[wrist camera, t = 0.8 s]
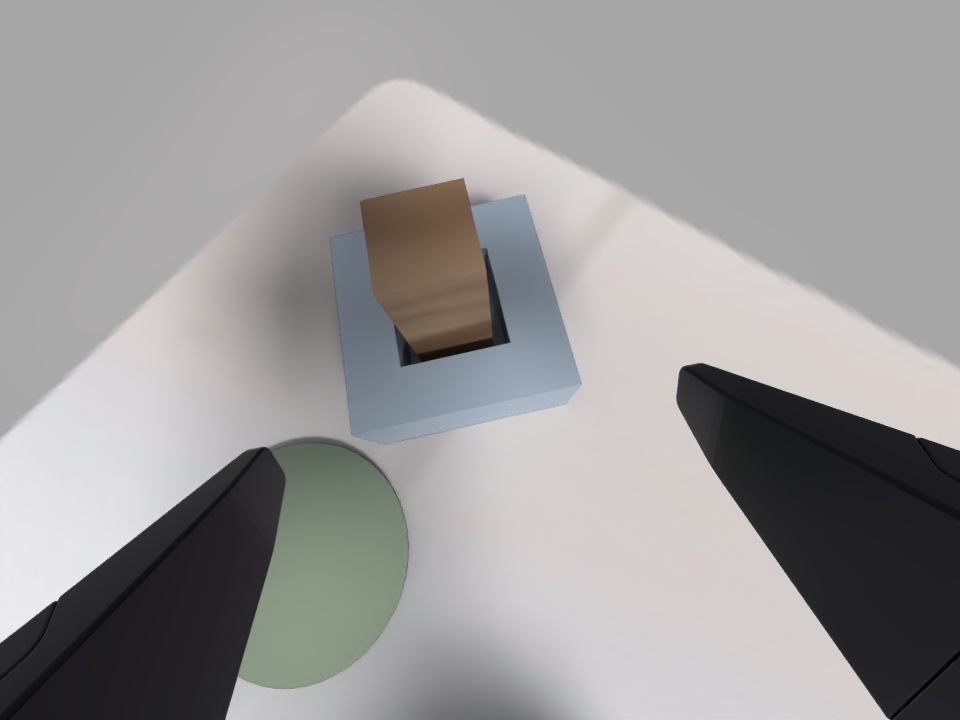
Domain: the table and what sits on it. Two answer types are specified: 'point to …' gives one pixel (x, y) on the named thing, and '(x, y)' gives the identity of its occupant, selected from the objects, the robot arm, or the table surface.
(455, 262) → the walnut peg
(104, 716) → the robot arm
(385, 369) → the slate-blue holder
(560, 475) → the table surface
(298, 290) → the table surface
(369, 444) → the table surface
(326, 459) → the sage-green mat
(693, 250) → the table surface
